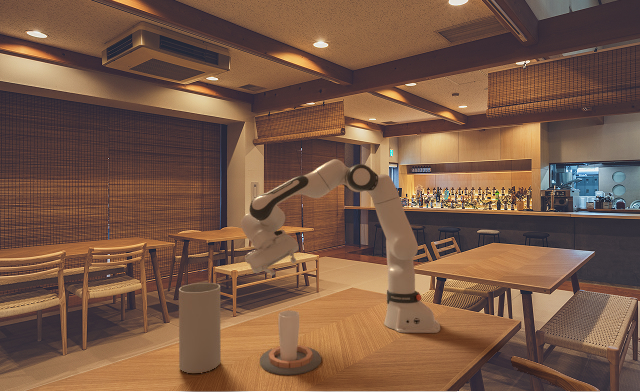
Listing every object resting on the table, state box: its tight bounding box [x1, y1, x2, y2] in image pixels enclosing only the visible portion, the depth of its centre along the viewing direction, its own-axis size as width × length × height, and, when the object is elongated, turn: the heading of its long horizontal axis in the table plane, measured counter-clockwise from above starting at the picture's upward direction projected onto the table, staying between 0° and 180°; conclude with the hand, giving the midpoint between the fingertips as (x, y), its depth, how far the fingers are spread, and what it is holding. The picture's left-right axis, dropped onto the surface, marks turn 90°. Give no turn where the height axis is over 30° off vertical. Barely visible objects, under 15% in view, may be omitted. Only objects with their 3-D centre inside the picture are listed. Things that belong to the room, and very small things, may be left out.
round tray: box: [259, 344, 322, 376], centre depth 122 cm, size 20×20×2 cm
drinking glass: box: [277, 309, 300, 361], centre depth 121 cm, size 7×7×15 cm
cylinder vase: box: [178, 282, 222, 374], centre depth 118 cm, size 12×12×25 cm
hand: (284, 267), depth 141 cm, fingers open, 8 cm apart
